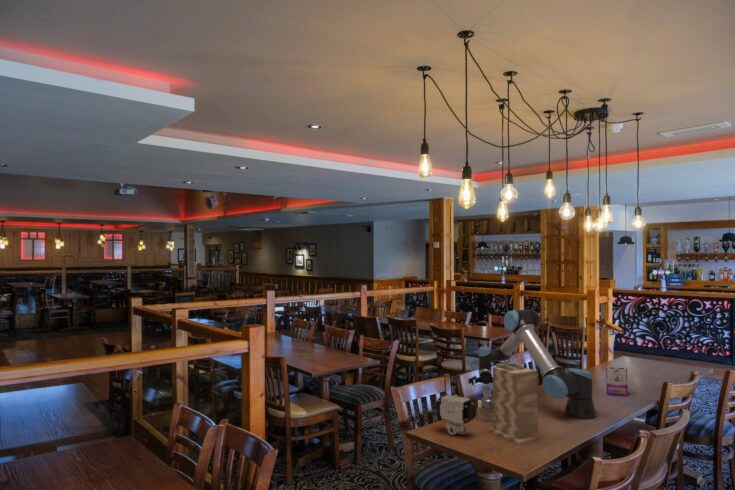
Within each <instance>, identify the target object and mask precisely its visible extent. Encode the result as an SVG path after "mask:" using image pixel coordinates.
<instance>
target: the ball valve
mask: <svg viewBox="0 0 735 490" xmlns="http://www.w3.org/2000/svg"><path fill="white" fill-rule="evenodd" d="M473 401H474V400H473V399H472V398H468V397H462V396H458V394H455V393H454V395H452V394H444V395H442V396H440V397H439V398H437V400H436V402H435V403H436V404H435V410H436V412H437V414H438V416H439V418H440V419H443V420H447V422H446V423H445V429H446V430H445V431H447V433H448V434H449V435H451V436H455V435H457V434H458V435H461V436H462V435H465V434H466V433H467V426H466V425H465V424H468V423H470V422H471V421H473V420H474V421H475V419H476V416H477V414H478V408H477V406H476V405H475V404H474V402H473Z"/></svg>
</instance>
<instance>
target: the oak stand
mask: <svg viewBox="0 0 735 490" xmlns="http://www.w3.org/2000/svg"><path fill="white" fill-rule="evenodd" d="M492 377H493V383H492V398H493V422H492V424H493V425H492V427H488V431H489V432H491V433H493V434H494V435H497V436H499V437H502V438H504V439H506V440H509V441H511V442H513V443H515V444H518V445H519V444H524V443H527V442H532V441H536V440H540V439H544V438H543V434H541V433H539V430H538V429H539V423H538V422H539V421H538V420H539V417H538V414H539V413H538V411H539V409H538V401H539V400H538V371H537V370H536V369H535V370H534V369H531V368H527V367H524V365H522V364H518V363H513V362H512V361H511V362H510V361H506V364H502V363H496V364H495V366H493V367H492Z"/></svg>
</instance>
